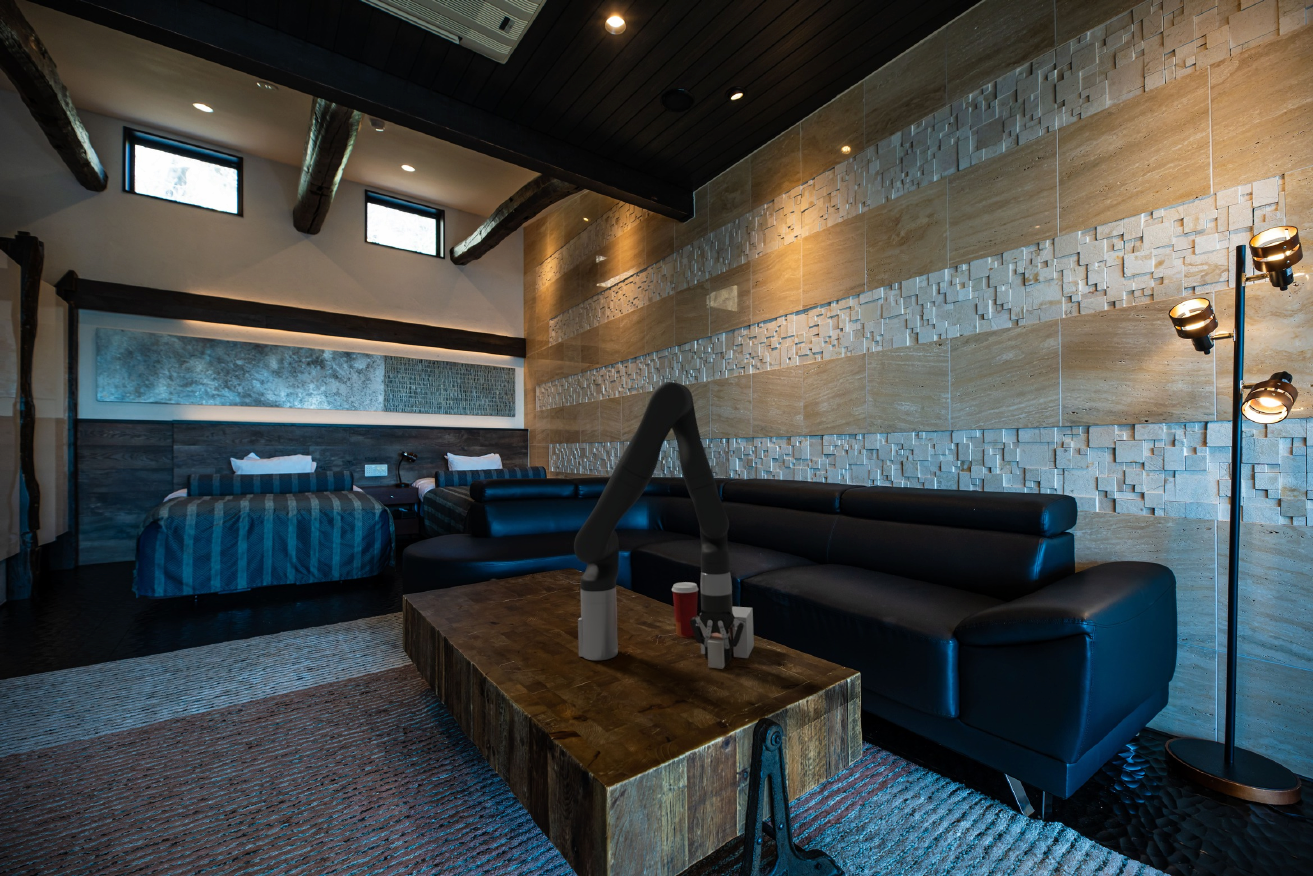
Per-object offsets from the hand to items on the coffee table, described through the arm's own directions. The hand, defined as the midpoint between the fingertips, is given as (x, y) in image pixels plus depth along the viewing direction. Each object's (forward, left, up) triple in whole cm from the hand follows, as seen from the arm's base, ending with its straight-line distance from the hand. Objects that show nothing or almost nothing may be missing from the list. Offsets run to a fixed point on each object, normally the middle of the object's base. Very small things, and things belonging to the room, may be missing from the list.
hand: (718, 661), depth 131 cm
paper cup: (-14, +19, -1) cm, 24 cm away
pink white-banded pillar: (0, +5, 0) cm, 5 cm away
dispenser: (0, +10, -1) cm, 11 cm away
